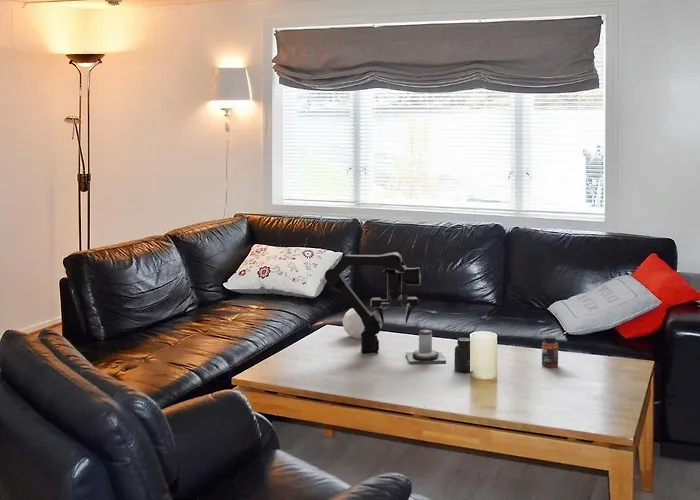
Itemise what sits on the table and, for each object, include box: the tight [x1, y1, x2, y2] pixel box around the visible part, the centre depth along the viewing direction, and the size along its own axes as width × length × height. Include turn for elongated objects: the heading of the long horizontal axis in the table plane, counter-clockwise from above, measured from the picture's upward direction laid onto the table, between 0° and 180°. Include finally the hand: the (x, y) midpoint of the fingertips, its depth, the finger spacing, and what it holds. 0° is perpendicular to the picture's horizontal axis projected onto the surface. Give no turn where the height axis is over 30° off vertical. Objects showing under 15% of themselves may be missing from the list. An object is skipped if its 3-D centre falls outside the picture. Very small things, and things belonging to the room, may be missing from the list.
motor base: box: [405, 348, 447, 365], centre depth 318 cm, size 14×12×3 cm
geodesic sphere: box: [342, 307, 365, 340], centre depth 350 cm, size 14×14×14 cm
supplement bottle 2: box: [541, 334, 559, 369], centre depth 306 cm, size 6×6×11 cm
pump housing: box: [418, 329, 433, 353], centre depth 317 cm, size 5×5×8 cm
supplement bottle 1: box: [453, 337, 471, 374], centre depth 302 cm, size 7×7×12 cm
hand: (394, 323), depth 325 cm, fingers open, 9 cm apart
